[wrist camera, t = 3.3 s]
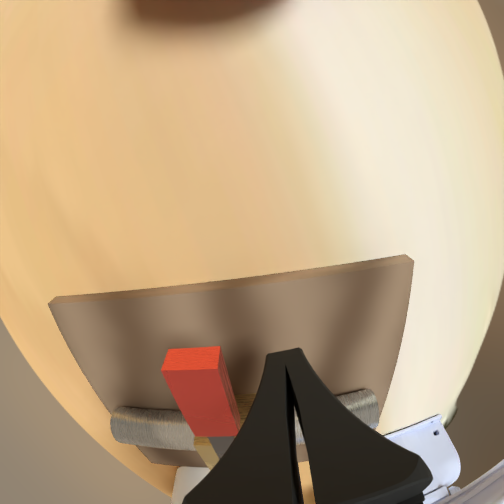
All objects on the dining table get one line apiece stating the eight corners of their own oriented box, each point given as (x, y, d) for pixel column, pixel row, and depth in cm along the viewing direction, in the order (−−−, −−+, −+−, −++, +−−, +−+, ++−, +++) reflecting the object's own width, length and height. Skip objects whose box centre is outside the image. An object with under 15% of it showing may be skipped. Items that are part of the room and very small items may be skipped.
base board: (405, 254, 14) (413, 260, 13) (365, 439, 20) (368, 447, 20) (55, 296, 14) (47, 303, 14) (153, 455, 21) (151, 462, 20)
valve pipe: (369, 373, 15) (390, 417, 12) (361, 410, 17) (375, 450, 13) (114, 393, 16) (96, 433, 12) (137, 426, 18) (125, 463, 14)
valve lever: (260, 467, 13) (261, 482, 12) (223, 469, 13) (222, 483, 12) (225, 345, 9) (223, 368, 8) (163, 349, 9) (155, 370, 8)
